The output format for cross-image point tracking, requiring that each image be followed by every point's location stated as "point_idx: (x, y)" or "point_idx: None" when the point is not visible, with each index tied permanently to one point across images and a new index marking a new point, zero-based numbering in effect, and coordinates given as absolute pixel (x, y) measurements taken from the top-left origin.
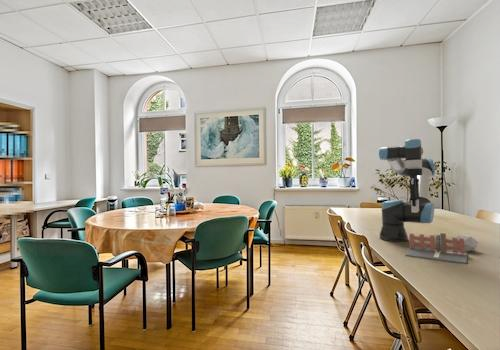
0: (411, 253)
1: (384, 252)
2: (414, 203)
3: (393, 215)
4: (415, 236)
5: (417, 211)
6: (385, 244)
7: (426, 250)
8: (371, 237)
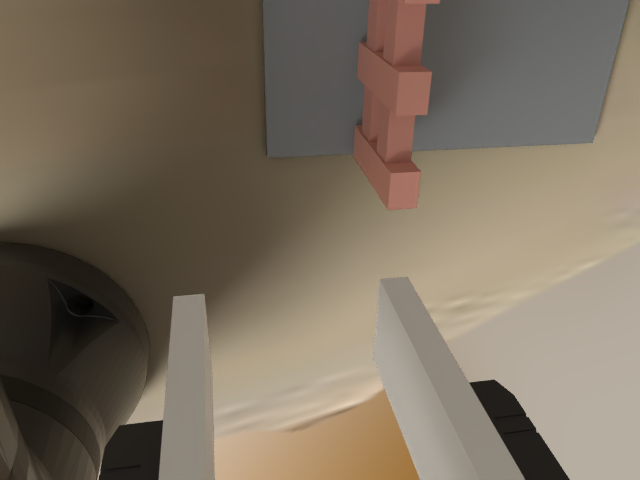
0: (546, 110)
1: (539, 267)
2: (534, 444)
3: None
4: (398, 147)
5: (406, 289)
6: (295, 329)
7: None
8: None
